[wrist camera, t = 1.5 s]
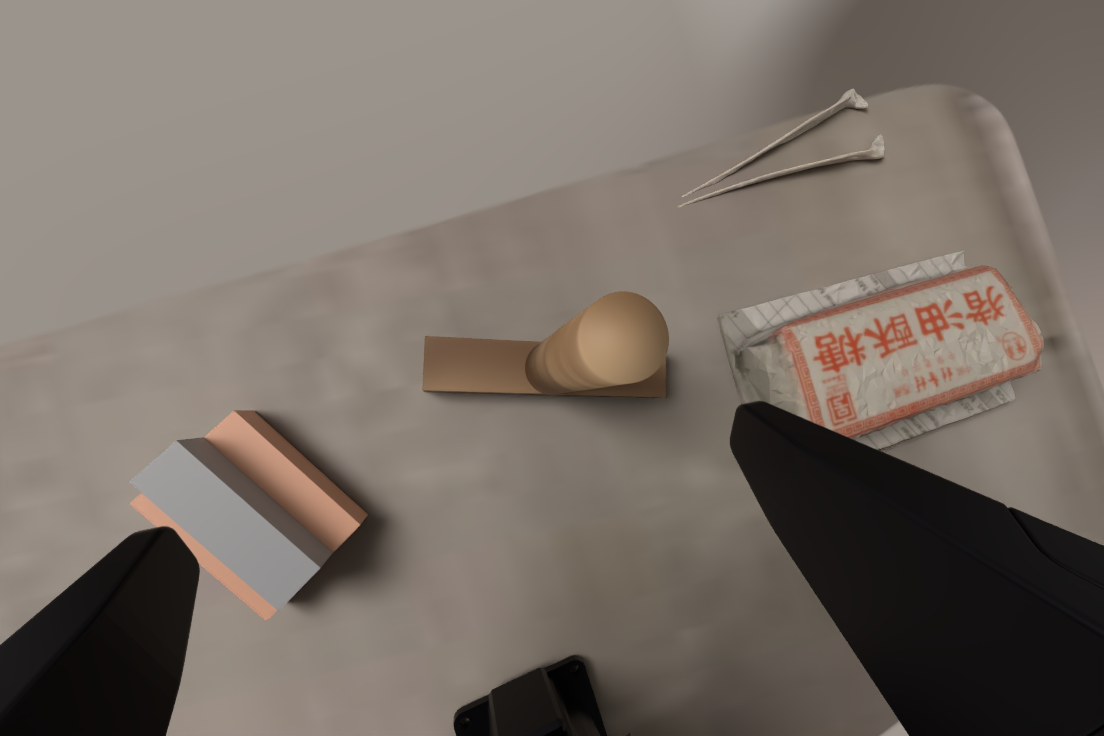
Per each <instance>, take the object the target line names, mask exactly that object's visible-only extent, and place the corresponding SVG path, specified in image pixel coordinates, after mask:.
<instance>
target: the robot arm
mask: <svg viewBox="0 0 1104 736" xmlns="http://www.w3.org/2000/svg"><path fill="white" fill-rule="evenodd" d="M730 447H731V450H732V452H733V455H734V457H735V458H736V460H737V462H738V464H739V466H740V468H741V470H742V472H743V474H744V476H745V478H746V480H747V481H748V483H749V485H750V487H751V489H752V491H753V493H754V495H755V497H756V499H757V501H758V502H759V504H760V506H761V508H762V510H763V512H764V514H765V516H766V518H767V519H768V521H769V523H770V525H771V526H772V528H773V530H774V531H775V533H776V534H777V536H778V538H779V539H780V541H781V542H782V544H783V545H784V547H785V548H786V550H787V551H788V553H789V554H790V556H791V557H792V559H793V560H794V562H795V563H796V565H797V566H798V568H799V569H800V571H801V572H802V574H803V576H804V577H805V579H806V580H807V582H808V583H809V585H810V586H811V588H812V589H813V591H814V592H815V594H816V595H817V597H818V598H819V600H820V601H821V603H822V604H823V606H824V607H825V609H826V610H827V612H828V613H829V615H830V616H831V618H832V619H833V621H834V622H835V624H836V626H837V627H838V629H839V630H840V632H841V633H842V635H843V636H844V638H845V639H846V641H847V642H848V644H849V645H850V647H851V648H852V650H853V651H854V653H855V654H856V656H857V657H858V659H859V660H860V662H861V663H862V665H863V666H864V668H865V669H866V671H867V673H868V674H869V676H870V677H871V679H872V680H873V682H874V683H875V685H876V686H877V688H878V689H879V691H880V692H881V694H882V695H883V697H884V698H885V700H886V701H887V703H888V704H889V706H890V707H891V709H892V710H893V712H894V713H895V715H896V716H897V718H898V720H899V721H900V723H901V724H902V726H903V727H904V728H905V730H906V731H907V733H908V735H909V736H1104V546H1103V545H1101V544H1098V543H1096V542H1093V541H1091V540H1088V539H1086V538H1083V537H1081V536H1079V535H1076V534H1074V533H1071V532H1069V531H1067V530H1064V529H1062V528H1059V527H1057V526H1054V525H1052V524H1050V523H1047V522H1045V521H1043V520H1040V519H1038V518H1036V517H1033V516H1031V515H1029V514H1026V513H1024V512H1022V511H1019V510H1017V509H1015V508H1012V507H1009V508H1007V507H1006V505H1004V504H1003V503H1000V502H998V501H996V500H993V499H991V498H989V497H986V496H984V495H982V494H979V493H977V492H975V491H972V490H970V489H968V488H965V487H963V486H961V485H958V484H956V483H954V482H951V481H949V480H947V479H944V478H942V477H940V476H937V475H935V474H933V473H930V472H928V471H926V470H923V469H921V468H919V467H916V466H914V465H912V464H909V463H907V462H905V461H902V460H900V459H898V458H895V457H893V456H891V455H888V454H886V453H884V452H881V451H879V450H877V449H874V448H872V447H870V446H867V445H865V444H863V443H860V442H858V441H856V440H853V439H851V438H849V437H846V436H844V435H842V434H839V433H837V432H835V431H832V430H830V429H828V428H825V427H823V426H821V425H818V424H816V423H814V422H811V421H809V420H807V419H804V418H802V417H800V416H797V415H795V414H793V413H790V412H788V411H786V410H783V409H781V408H779V407H776V406H774V405H772V404H769V403H767V402H764V401H754V402H749V403H744V404H741V405H739V406H738V408H737V409H736V412H735V417H734V421H733V426H732V431H731V435H730ZM199 574H200V568H199V563H198V560H197V558H196V557H195V555H194V554H193V553H192V551H191V550H190V549H189V548H188V546H187V545H186V544H185V542H184V541H183V540H182V539H181V537H180V536H179V535H178V533H177V532H176V531H175V530H174V529H173V528H171V527H168V526H161V527H156V528H151V529H146V530H142V531H138V532H135V533H133V534H131V535H130V536H128V537H127V538H126V539H125V540H124V541H122V542H121V543H120V544H119V545H118V546H116V547H115V548H114V549H113V550H112V551H111V552H109V553H108V554H107V555H106V556H105V557H103V558H102V559H101V560H100V561H99V562H98V563H96V564H95V565H94V566H93V567H92V568H90V569H89V570H88V571H87V572H86V573H85V574H83V575H82V576H81V577H80V578H79V579H78V580H76V581H75V582H74V583H73V584H72V585H70V586H69V587H68V588H67V589H66V590H65V591H63V592H62V593H61V594H60V595H59V596H57V597H56V598H55V599H54V600H53V601H52V602H50V603H49V604H48V605H47V606H46V607H44V608H43V609H42V610H41V611H40V612H39V613H37V614H36V615H35V616H34V617H33V618H32V619H30V620H29V621H28V622H27V623H26V624H24V625H23V626H22V627H21V628H20V629H19V630H17V631H16V632H15V633H14V634H13V635H11V636H10V637H9V638H8V639H7V640H6V641H4V642H3V643H2V644H1V645H0V736H166V733H167V729H168V726H169V722H170V719H171V715H172V712H173V708H174V705H175V701H176V697H177V694H178V690H179V686H180V682H181V677H182V672H183V667H184V662H185V656H186V651H187V645H188V639H189V633H190V627H191V622H192V616H193V610H194V604H195V598H196V593H197V587H198V581H199ZM574 665H578V669H577V670H576V671H574V672H571V671H570V670H571V667H572V666H574ZM465 717H466V718H469V721H468V722H467V723H465V724H462V723H460V720H461V719H462V718H465ZM454 730H455V733H456V736H607V734H606V731H605V728H604V725H603V721H602V718H601V715H600V712H599V709H598V706H597V703H596V699H595V696H594V693H593V690H592V687H591V684H590V681H589V677H588V674H587V671H586V668H585V665H584V663H583V662H582V660H581V658H579V657H578V656H570V657H568V658H566V659H564V660H562V661H559V662H557V663H555V664H553V665H551V666H549V667H547V668H545V669H541V668H538V669H536V670H533V671H531V672H529V673H527V674H525V675H523V676H521V677H518V678H516V679H514V680H512V681H510V682H508V683H506V684H503V685H501V686H499V687H497V688H495V689H493V690H492V691H491V693H490V694H489V695H487V696H485V697H483V698H481V699H478V700H476V701H474V702H472V703H470V704H468V705H466V706H463V707H461V708H460V709H459V710H457V712H456V713H455V715H454ZM626 736H631V735H630V733H629V734H628V735H626Z"/></svg>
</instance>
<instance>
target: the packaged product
mask: <svg viewBox="0 0 1104 736" xmlns="http://www.w3.org/2000/svg"><path fill="white" fill-rule="evenodd" d="M1011 288H1012V287H1011V286H1010V285H1009V283H1008V282H1007V281H1006V280H1005V279H1004V278H1003V277H1002V275H1001V274H1000V273H999V272H998V271H997V270H996V269H995V268H992V267H989V266H978V265H970V266H968V267H966V266H964V251H961V252H957V253H953V254H949V255H945V256H940V257H936V258H932V259H928V260H924V261H920V262H916V263H912V264H908V265H905V266H901V267H898V268H894V269H890V270H887V271H883V272H880V273H876V274H872V275H869V276H865V277H862V278H857V279H853V280H849V281H845V282H842V283H839V284H835V285H832V286H828V287H825V288H820V289H817V290H813V291H809V292H803V293H799V294H795V295H791V296H788V297H784V298H780V299H777V300H773V301H770V302H766V303H763V304H759V305H756V306H753V307H749V308H744V309H740V310H736V311H732V312H728V313H724V314H720V315H719V317H718V322H719V326H720V330H721V333H722V337H723V341H724V344H725V348H726V352H727V355H728V359H729V362H730V366H731V370H732V373H733V377H734V380H735V384H736V388H737V391H738V395H739V398H740V401H741V404H744V403H749V402H754V401H764V402H767V403H769V404H772V405H774V406H776V407H779V408H781V409H783V410H786V411H788V412H790V413H793V414H795V415H797V416H800V417H802V418H804V419H807V420H809V421H811V422H814V423H816V424H818V425H821V426H823V427H825V428H828V429H830V430H832V431H835V432H837V433H839V434H842V435H844V436H846V437H849V438H851V439H853V440H856V441H858V442H860V443H863V444H865V445H867V446H870V447H872V448H874V449H877V450H878V449H881V448H884V447H888V446H891V445H894V444H896V443H898V442H900V441H902V440H905V439H909V438H912V437H915V436H917V435H919V434H922V433H925V432H927V431H930V430H933V429H936V428H939V427H941V426H943V425H945V424H949V423H952V422H955V421H958V420H961V419H964V418H967V417H969V416H972V415H974V414H977V413H980V412H983V411H986V410H988V409H991V408H994V407H997V406H998V405H1001V404H1004V403H1006V402H1010V401H1013V400H1015V394H1014V391H1013V388H1012V385H1011V381H1010V380H1012V379H1017V378H1021V377H1024V376H1027V375H1029V374H1031V373H1035V372H1037V371H1039V370H1041V367H1042V366H1041V365H1042V358H1041V353H1042V351H1043V350H1044V343H1043V337H1042V335H1041V331H1040V329H1039V327H1038V326H1037V324H1036V323H1035V321H1033V320H1031V319H1030V317H1029V315H1028V313H1027V311H1026V310H1025V309H1024V307H1023V306H1022V304H1021V303H1020V302H1019V300H1018V299H1017V298H1016V297H1015V294H1014V292H1012V291H1011Z"/></svg>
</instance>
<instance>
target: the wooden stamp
mask: <svg viewBox="0 0 1104 736" xmlns="http://www.w3.org/2000/svg"><path fill="white" fill-rule="evenodd" d="M668 345H669V334H668V328H667V325H666V322H665V320H664V318H663V316H662V314H661V312H660V311H659V310H658V308H657V307H656V306H655V305H654V304H653V303H652V302H650V301H649V300H648V299H646V298H645V297H643V296H641V295H638V294H635V293H632V292H614V293H611V294H608V295H606V296H604V297H602V298H600V299H599V300H597V301H596V302H595V303H593V304H592V305H591V306H589V307H588V308H587V309H585V310H584V311H583V312H581V313H580V314H579V315H577V316H576V317H575V318H573V319H572V320H571V321H569V322H568V323H566V324H565V325H564V326H562V327H561V328H560V329H558V330H557V331H556V332H554V333H553V334H552V335H550V336H549V337H548V338H546V339H545V340H544V341H542V342H530V341H511V340H491V339H472V338H452V337H433V336H425V347H424V369H423V391H424V392H460V393H496V394H532V395H568V396H604V397H640V398H660V397H666V354H667V351H668Z"/></svg>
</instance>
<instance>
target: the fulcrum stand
mask: <svg viewBox="0 0 1104 736" xmlns="http://www.w3.org/2000/svg"><path fill="white" fill-rule="evenodd" d="M129 483H130V484H132V485H133V486H134V487H135V488H136V489H137V490H139V491H140V492H141V494H140V495H139V496H138V497H136V498H135V499H134V500H133V501H132V502H131V503H130V505H132V506H133V507H134V508H135V509H136V510H137V511H139V512H140V513H141V514H142V515H143V516H144V517H146V518H147V519H148V520H149V521H150V522H151V523H153V524H154V525H155V526H156V527H161V526H168V527H171V528H173V529H174V530H175V531H176V532H177V533H178V535H179V536H180V537H181V539H182V540H183V541H184V542H185V544H186V545H187V546H188V548H189V549H190V550H191V551H192V553H193V554H194V555H195V557H196V558H197V560H198V563H199V564H200V565H201V566H203V567H204V568H205V569H206V570H207V571H208V572H210V573H211V574H212V575H213V576H214V577H215V578H217V579H218V580H219V581H220V582H221V583H222V584H224V585H225V586H226V587H227V588H228V589H229V590H231V591H232V592H233V593H234V594H235V595H236V596H238V597H239V598H240V599H241V600H242V601H243V602H245V603H246V604H247V605H248V606H249V607H250V608H252V609H253V610H254V611H255V612H256V613H257V614H259V615H260V616H261V617H262V618H263V619H264V620H265V621H267V620H268V619H269V618H270V617H271V616H272V615H273V614H274V613H275V612H276V611H279V610H280V609H281V608H282V607H283V606H284V605H285V604H286V603H287V602H288V601H289V600H290V599H291V598H292V597H293V596H294V595H295V594H296V593H297V592H298V591H299V590H300V588H301V587H302V586H303V585H304V584H305V583H306V582H307V581H308V580H309V579H310V578H311V577H312V576H313V575H314V574H315V573H316V572H317V571H318V570H319V569H320V568H321V567H322V566H323V564H324V563H325V562H326V561H327V559H328V558H329V557H330V556H331V555H332V553H333V552H334V551H335V550H336V549H337V548H338V547H339V546H340V545H341V544H342V543H343V542H344V541H345V540H346V539H347V538H348V537H349V536H350V535H351V534H352V533H353V532H354V531H355V530H356V529H357V528H358V527H359V526H360V525H361V523H362V522H363V521H364V519H365V518H366V517H367V516H368V514H367V513H366V512H365V511H364V510H363V509H361V508H360V507H359V506H358V505H357V504H356V503H355V502H354V501H353V500H352V499H350V498H349V497H348V496H347V495H346V494H345V493H344V492H343V491H342V490H341V489H339V488H338V487H337V486H336V485H335V484H334V483H333V482H332V481H331V480H330V479H328V478H327V477H326V476H325V475H324V474H323V473H322V472H321V471H320V470H319V469H317V468H316V467H315V466H314V465H313V464H312V463H311V462H310V461H309V460H307V459H306V458H305V457H304V456H303V455H302V454H301V453H300V452H299V451H298V450H296V449H295V448H294V447H293V446H292V445H291V444H290V443H289V442H288V441H287V440H285V439H284V438H283V437H282V436H281V435H280V434H279V433H278V432H277V431H276V430H274V429H273V428H272V427H271V426H270V425H269V424H268V423H267V422H266V421H265V420H263V419H262V418H261V417H260V416H259V415H258V414H257V413H256V412H255V411H233V412H232V413H231V414H230V415H228V416H227V417H226V418H225V419H224V420H223V421H222V422H221V423H220V424H218V425H217V426H216V427H215V428H214V429H213V430H212V431H211V432H209V433H208V434H207V435H206V436H205V437H203V438H194V439H185V440H176V441H175V442H174V443H173V444H172V445H170V446H169V447H168V448H167V449H166V450H165V451H164V452H162V453H161V454H160V455H159V456H158V457H157V458H156V459H155V460H153V461H152V462H151V463H150V464H149V465H148V466H147V467H145V468H144V469H143V470H142V471H141V472H140V473H139V474H137V475H136V476H135V477H134V478H133V479H132V480H131V481H130V482H129Z"/></svg>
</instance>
